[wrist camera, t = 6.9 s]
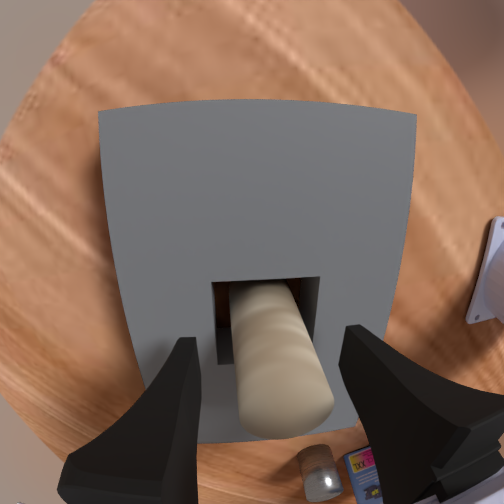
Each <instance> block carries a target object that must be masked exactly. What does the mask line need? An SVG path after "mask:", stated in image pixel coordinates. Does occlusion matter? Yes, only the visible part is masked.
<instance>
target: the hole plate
mask: <svg viewBox="0 0 504 504" xmlns="http://www.w3.org/2000/svg"><path fill="white" fill-rule="evenodd" d="M98 119H99V140H100V155H101V168H102V178H103V188H104V197H105V205H106V213H107V220H108V227H109V234H110V240H111V246H112V252H113V258H114V264H115V269H116V274H117V279H118V284H119V289H120V294H121V299H122V303H123V308H124V312H125V316H126V320H127V324H128V329H129V332H130V336H131V340H132V344H133V348H134V351H135V355H136V359H137V362H138V366H139V369H140V372H141V376H142V379H143V382H144V386H145V389H147V388H148V387H149V385H150V384H151V382H152V381H153V380H154V378H155V377H156V376H157V374H158V373H159V371H160V369H161V368H162V366H163V365H164V363H165V362H166V360H167V358H168V356H169V355H170V353H171V351H172V349H173V347H174V345H175V343H176V341H177V340H178V339H179V338H180V337H196V341H197V348H198V356H199V363H200V370H201V389H202V399H201V409H200V419H199V429H198V439H197V443H232V442H248V441H260V440H271V439H264V438H260V437H256V436H254V435H252V434H250V433H248V432H247V431H246V430H245V429H244V428H243V427H242V425H241V423H240V420H239V410H238V399H237V388H236V377H235V366H234V354H233V342H232V330H231V327H224V328H217V322H216V308H215V294H214V282H221V281H243V280H263V279H282V278H300V277H301V283H300V297H299V309H298V310H299V312H300V315H301V317H302V320H303V322H304V325H305V327H306V330H307V332H308V334H309V337H310V339H311V342H312V344H313V347H314V349H315V352H316V354H317V357H318V359H319V362H320V364H321V367H322V369H323V372H324V374H325V377H326V379H327V382H328V384H329V387H330V389H331V392H332V394H333V397H334V408H333V410H332V413H331V414H330V416H329V417H328V418H327V419H326V420H325V421H324V422H323V423H322V424H321V425H320V426H318V427H317V428H315V429H314V430H312V431H310V432H308V433H305V434H303V435H310V434H317V433H323V432H328V431H334V430H339V429H344V428H349V427H354V426H355V425H356V422H357V420H358V417H359V416H358V414H357V412H356V410H355V407H354V405H353V403H352V401H351V399H350V397H349V394H348V392H347V390H346V388H345V385H344V382H343V379H342V376H341V373H340V369H339V366H338V363H339V358H340V353H341V348H342V343H343V338H344V333H345V327H346V326H349V325H357V324H360V325H362V326H363V327H365V328H366V329H367V330H369V331H370V332H372V333H373V334H374V335H376V336H377V337H378V338H380V339H381V340H382V341H383V339H384V335H385V331H386V327H387V323H388V319H389V315H390V311H391V307H392V303H393V298H394V294H395V289H396V285H397V280H398V275H399V270H400V265H401V259H402V254H403V248H404V242H405V236H406V229H407V223H408V215H409V208H410V200H411V191H412V182H413V171H414V159H415V144H416V122H417V115H416V114H411V113H405V112H399V111H393V110H386V109H380V108H372V107H365V106H356V105H347V104H337V103H326V102H313V101H295V100H266V99H231V100H201V101H184V102H171V103H160V104H150V105H141V106H133V107H125V108H118V109H111V110H104V111H98ZM303 435H300V436H303Z"/></svg>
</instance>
